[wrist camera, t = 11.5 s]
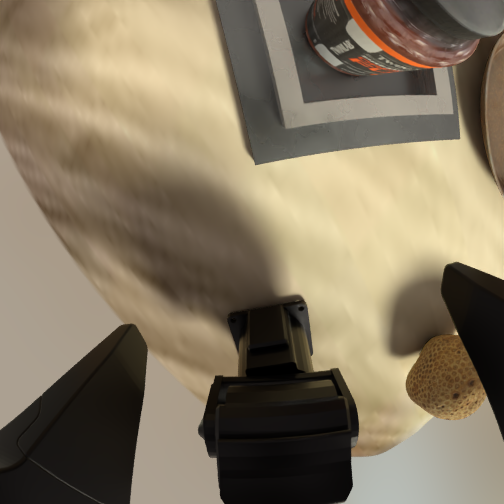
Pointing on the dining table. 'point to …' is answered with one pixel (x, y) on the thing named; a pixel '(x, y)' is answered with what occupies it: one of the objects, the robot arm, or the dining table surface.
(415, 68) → the supplement bottle
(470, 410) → the natural sponge
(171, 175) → the dining table surface
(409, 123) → the grey square tray
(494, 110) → the plant saucer
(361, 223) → the dining table surface
